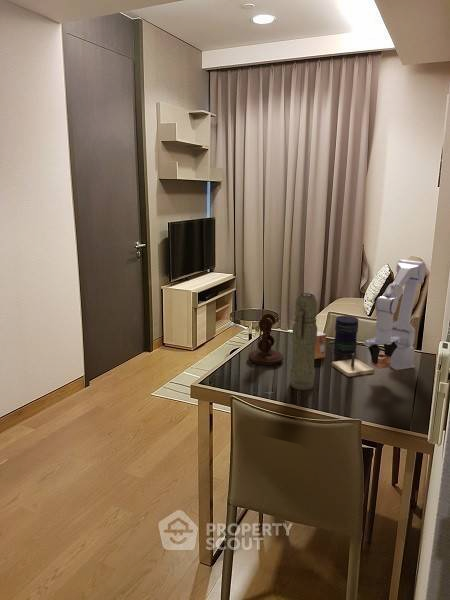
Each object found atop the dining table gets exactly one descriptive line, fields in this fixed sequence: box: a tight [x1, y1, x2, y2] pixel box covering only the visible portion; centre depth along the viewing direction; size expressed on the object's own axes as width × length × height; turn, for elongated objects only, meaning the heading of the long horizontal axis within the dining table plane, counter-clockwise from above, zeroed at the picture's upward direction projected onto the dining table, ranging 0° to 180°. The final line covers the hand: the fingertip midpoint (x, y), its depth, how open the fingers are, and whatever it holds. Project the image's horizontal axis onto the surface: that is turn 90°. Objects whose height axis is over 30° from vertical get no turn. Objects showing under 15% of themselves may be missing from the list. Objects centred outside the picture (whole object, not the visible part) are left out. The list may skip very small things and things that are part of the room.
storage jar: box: [333, 315, 359, 355], centre depth 209 cm, size 10×10×15 cm
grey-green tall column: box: [289, 292, 318, 391], centre depth 171 cm, size 9×12×35 cm
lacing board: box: [331, 353, 375, 378], centre depth 190 cm, size 12×12×6 cm
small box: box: [314, 330, 327, 360], centre depth 202 cm, size 8×6×10 cm
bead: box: [370, 352, 391, 370], centre depth 178 cm, size 5×5×4 cm
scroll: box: [248, 313, 284, 368], centre depth 196 cm, size 15×15×20 cm
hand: (380, 362), depth 178 cm, fingers closed on bead, 5 cm apart
